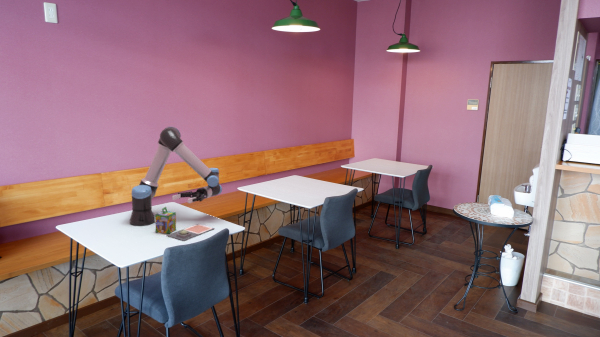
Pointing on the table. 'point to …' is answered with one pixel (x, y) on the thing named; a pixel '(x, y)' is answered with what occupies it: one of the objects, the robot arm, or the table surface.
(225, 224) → the table surface
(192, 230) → the slate board
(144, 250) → the table surface
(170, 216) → the chalk box
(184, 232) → the button
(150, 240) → the table surface
